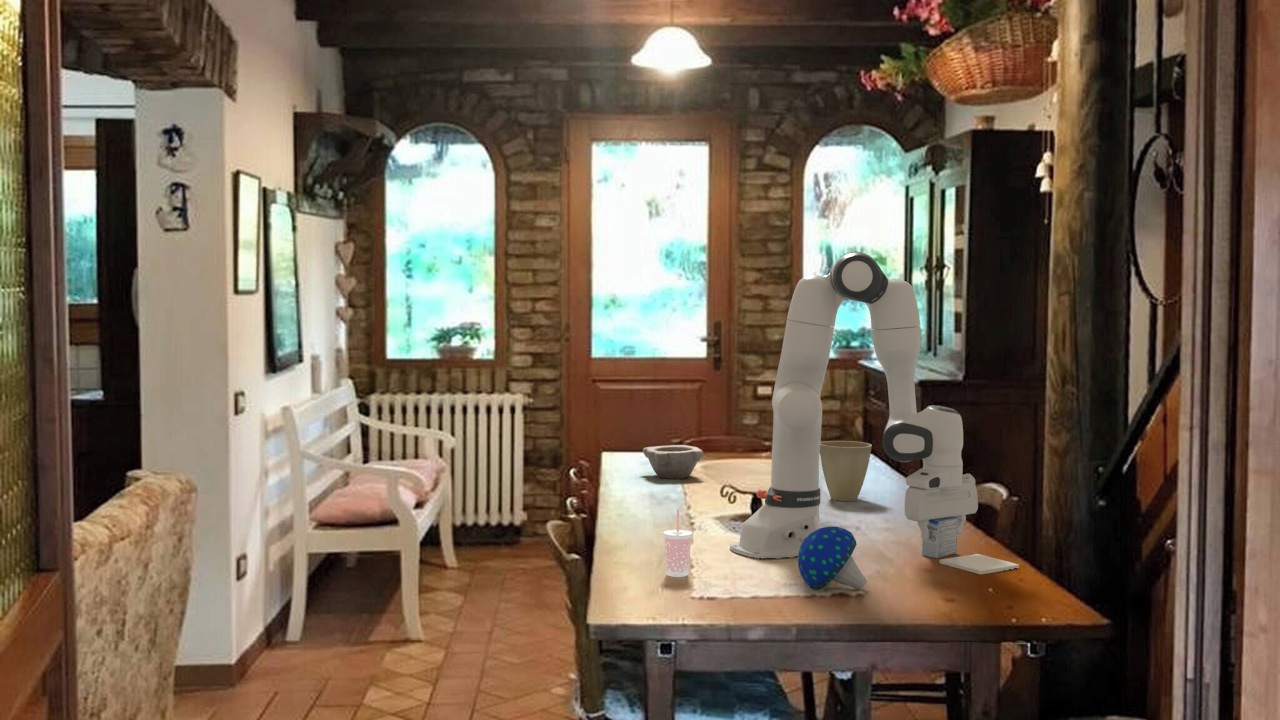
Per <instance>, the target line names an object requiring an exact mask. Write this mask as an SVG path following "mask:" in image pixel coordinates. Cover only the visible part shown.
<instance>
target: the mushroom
mask: <svg viewBox="0 0 1280 720" xmlns="http://www.w3.org/2000/svg"><path fill="white" fill-rule="evenodd" d="M856 547H857V541H856V538H855V536H854V535H853V533H852V531H850V530H848V529H846V528H842V527H839V526H824V527H820V529H818V530H816V531H814V532H812V533H811V534H809V535H808V536H807V538H806V539H805V540H804V541H803V543H802V544H801V546H800V550H799V553H798V557H797V562H798V563H797V565H798V566H797V567H798V570H799V573H800V576H801V577H802V579H803V581H804V583H805V584H806V585H807V586H808V587H809V588H810V589H812V590H818V591H821V590H823V589H824V588H826V587H827V586H828V585H829V584H831V582H834V583H838V584H841V585H844V586H848V587H851V588H853V589H856V590H857V591H861V590H862V589H863V588H864V587H865V585H866V584H867V581H868V579H867V578H866V577H865V575H864V573H862V571H861V569H860V568H859V566H858V564H857V563H856V561H855V560H854V558H853V557H852V554H853V553H854V551H855V548H856Z"/></svg>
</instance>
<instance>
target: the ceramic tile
mask: <svg viewBox="0 0 1280 720" xmlns="http://www.w3.org/2000/svg"><path fill="white" fill-rule="evenodd" d="M939 564H941V565H944V566H947V567H952V568H956V569H959V570H963V571H966V572H969V573H974V574H978V575H985V574H986V575H987V574H991V573H992V574H993V573H998V572H1003V571H1004V570H1005V571H1010V570H1009V569H1011V570H1015V569H1014V568H1017V569H1020V564H1018V563H1014V562H1012V561H1007V560H1003V559H999V558H996V557H995V558H994V557H991V556H989V555H985V554H980V553H975V554H966V555H961V556H955V557H948V558H942V559H939Z"/></svg>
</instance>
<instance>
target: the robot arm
mask: <svg viewBox="0 0 1280 720" xmlns="http://www.w3.org/2000/svg"><path fill="white" fill-rule="evenodd" d="M845 301H856V302H862V303H865V305H866V306H867V308H868V311H869V314H870V329H871V338H872V340H871V341H872V343H873V348H874V353H875V355H876V356H875V357H876V359H877V361H878V362H879V364H880V366H881V368H882V369H883V372H884V375H885V377H886V382H887V391H888V392H887V393H888V394H887V395H888V405H889V407H888V408H889V412H888V419H887V422H886V423H885V426H884V430H883V434H882V439H881V445H882V448H883V450H884V452H885V454H886V455H887V456H888V457H889V458H890V459H892V460H893V461H897V462H900V463H907V462H912V461H918V460H922V465H923V466H922V467H920V469H918V470H917V471H915V472H913V473H911V474H910V475H908V476H906V478H905V484H906V486H907V487H908V488H906V491H905V495H904V516H905V517H906V519H907V520H909V521H913V522H917V525H918V527H919V530H920V533H921V535H920V536H921V539H931V537H932V536H931V534H932V531H929V530H928V527H927V525H928V524H929V520H932V519H939V518H946V517H953V516H954V517H957V518H958V533H957V536H958V535H961V534H962V533H963V531H962V530H963V526H964V524H965V522H966V519H967V515H971V514H972V515H973V514H976V513H977V511H978V508H979V503H978V502H979V501H978V500H979V499H978V489H977V486H976V479H975V477H974V476H973V475H972V474H971V473H964V474H963V466H964V464H963V458H962V450H963V447H964V429H963V427H964V425H963V420H962V419H963V418H962V416H961V414H960V412H958V410H955V409H954V408H950V407H947V406H943V405H935V404H934V405H928V406H926V408H924V409H923V410H922V411H919V412H918V409H917V400H916V398H917V397H916V386H915V384H916V383H915V374H916V369H917V368H916V367H917V363H918V361H919V357H920V352H921V351H920V349H921V340H922V338H921V337H922V335H921V334H922V332H921V331H922V329H921V320H920V312H919V306H918V302H917V296H916V293H915V290H914V288H913V286H912V285H911V284H910V283H909V282H907V281H905V280H903V279H899V278H898V279H897V278H888V277H887V275H886V274H885V273H884V272H883V270H882V269H881V267H880V265H879V264H878V263H877V261H876V260H875V259H874V258H873V257H872V256H871V255H869V254H867V253H865V252H862V251H861V252H860V251H850V252H847V253H845V254H843V255H841V256H840V257H838V259H836V261H835V262H834V264H833V265H832V267H831V268H830V269H829V270H828V272H827V273H826V274H825V275H816V274H812V275H807V276H803V277H802V278H801V279H799V281H798V282H797V284H796V286H795V289H794V291H793V294H792V298H791V301H790V304H789V308H788V313H787V318H786V323H785V330H784V336H783V341H782V346H781V347H782V348H781V352H780V358H779V362H778V363H779V364H778V367H777V372H776V377H775V383H774V386H773V387H774V389H773V394H772V398H771V406H772V411H773V415H772V416H773V419H772V423H773V424H772V428H773V429H772V445H771V472H770V473H771V478H770V479H771V481H770V482H771V484H770V486H769V488H768V491H766V490H763V489H758V490H757V491H756V493H755V494H756V497H757V498H759V499H762V500H764V504H763V505H761V506H760V508H758V509H757V510H756V511H755V512H754V513H753V514H752V515H751V516H750V517H749V518H747V519H746V520H745V521H744V522H743V524H742V526H741V530H740V535H739V542H733V543H730V544H729V545H730V546H729V550H731V551H732V552H734V553H736V554H738V555H742V556H745V557H749V558H753V557H754V559H759V558H762V559H761V560H764V559H763V558H776V559H781V558H780V557H789V558H794V557H793V556H798V553H799V550H800V546H801V544H802V543H803V541H804V540H805V539H806V538H807V536H808V535H809V534H811V533H812V532H814V531H816V530H818V529H820V528H821V522H820V504H821V488H820V485H819V483H820V482H819V481H820V442H822V439H821V438H822V422H823V402H822V400H821V394H822V391H823V390H822V389H823V385H824V381H825V376H826V372H827V368H828V365H829V360H830V354H831V349H832V343H833V339H834V337H833V336H834V331H835V326H836V319H837V314H838V310H839V308H840V306H841V305H842V304H843V302H845Z"/></svg>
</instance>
